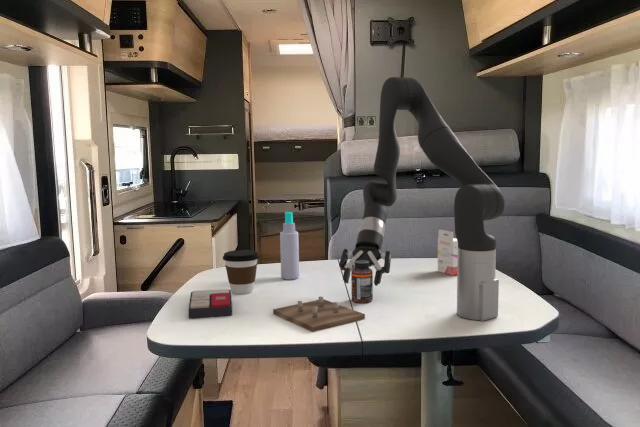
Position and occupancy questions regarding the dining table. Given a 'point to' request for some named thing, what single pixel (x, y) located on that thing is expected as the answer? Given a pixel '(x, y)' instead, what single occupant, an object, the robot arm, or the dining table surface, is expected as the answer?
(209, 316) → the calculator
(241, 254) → the coffee cup
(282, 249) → the spray bottle
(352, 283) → the supplement bottle
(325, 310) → the pin tray
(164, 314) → the dining table surface
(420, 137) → the robot arm
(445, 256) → the ink cartridge box
